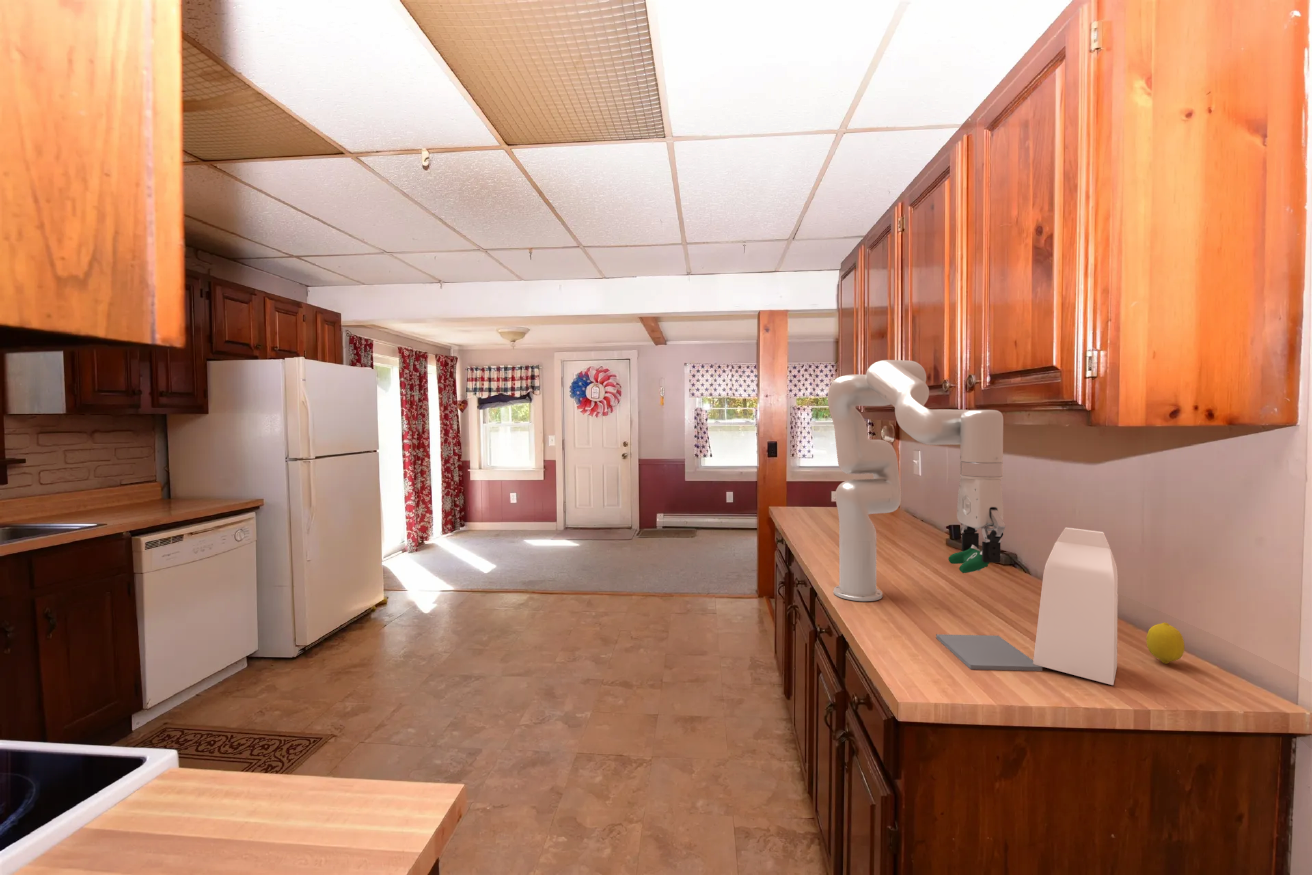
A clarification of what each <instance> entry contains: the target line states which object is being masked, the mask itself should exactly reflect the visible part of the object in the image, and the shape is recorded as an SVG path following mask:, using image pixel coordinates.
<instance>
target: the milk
mask: <svg viewBox="0 0 1312 875" xmlns="http://www.w3.org/2000/svg"><path fill="white" fill-rule="evenodd" d="M1118 575H1119V574H1118V567H1117V562H1116V559H1115V556H1114V554H1113V551H1112V549H1111V545H1110V544H1109V541H1108V539H1107V537H1106V535H1105V532H1104V531H1099V530H1098V531H1097V530H1090V529H1083V528H1081V529H1080V528H1076V527H1075V528H1073V527H1064V529H1063V530H1062V531H1061V533H1060V535H1059V536H1058V538H1057V539H1056V541H1055V542H1054V544H1053V547H1052V549H1051V551H1050V554H1049V556H1048V557H1047V559H1046V562H1045V565H1044V570H1043V576H1042V584H1041V593H1040V601H1039V610H1038V617H1037V625H1036V626H1037V627H1036V633H1035V634H1036V635H1035V644H1034V652H1033V659H1032V660H1033V664H1035V665H1038V666H1042V668H1047V669H1050V670H1053V671H1058V672H1062V673H1066V674H1068V675H1074V676H1076V677H1081V678H1084V679H1087V680H1092V681H1096V682H1099V683H1102V684H1108V685H1111V686H1114V683H1115V679H1116V672H1117V670H1118V669H1117V668H1118V598H1119V597H1118V593H1119V592H1118V589H1119V588H1118V584H1119V583H1118V582H1119V580H1118V578H1119V577H1118Z"/></svg>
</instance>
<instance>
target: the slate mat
mask: <svg viewBox="0 0 1312 875" xmlns="http://www.w3.org/2000/svg"><path fill="white" fill-rule="evenodd" d="M935 638H936V639H937V640H938V641H939V642H940V643H941V644H942V645H943V646H944V647H945V648H946V649H947V650H949V651H950V653H952V654H953V655H954V656H955V657H957V659H958V660H960V661H961V662H962V663H963V664H964V665H965V666H966V667H967V668H968V669H969V670H985V671H986V670H987V671H990V670H991V671H1019V672H1020V671H1021V672H1022V671H1023V672H1024V671H1025V672H1027V671H1028V672H1043V667H1042V666H1038V665H1035V664H1033V659H1032V658H1031V657H1029V656H1028V655H1026V654H1025V653H1024V652H1022V651H1021V650H1020V649H1018V648H1016V647H1015V646H1014V645H1012V644H1011V643H1009V642H1008V641H1007V640H1006V639H1004V638H1003V637H1001V636H1000V635H991V634H990V635H985V634H983V635H981V634H980V635H979V634H942V633H941V634H938V633H937V634H936V635H935Z"/></svg>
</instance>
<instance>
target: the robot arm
mask: <svg viewBox="0 0 1312 875" xmlns="http://www.w3.org/2000/svg"><path fill="white" fill-rule="evenodd" d="M926 381H927V373H926V371H925V368H924V367H923V366H922V365H921V364H920V363H918V362H917V361H914V360H901V359H883V360H882V359H881V360H878V361H875V362H873V363H872V364H871V365H870V366H869V367H868V369H867V370H866V373H865V374H846V375H841V376H838V377H836V378H835V379H834V380H832V382H831V384H830V386H829V388H828V392H827V406H828V410H829V414H830V416H831V419H832V423H833V428H834V429H833V430H834V436H835V437H834V438H835V447H836V457H837V458H836V459H837V464H838V468H839V469H840V471H841V472H842V473H844V474H846V475H872V478H858V479H857V478H855V479H848V480H845V481H843V482H841V483H840V484H839V485H838V486H837V488H836V489H835V496H834V497H835V503H836V509H837V514H838V526H839V528H838V530H839V533H838V535H839V536H838V538H839V541H838V542H839V545H838V546H839V547H838V548H839V552H838V553H839V554H838V555H839V558H838V560H839V571H838V572H839V585H836V586H835V587H833V594H834V595H835V596H836V597H838V598H841V599H844V600H849V601H855V602H874V601H875V602H876V601H878V600H881V599H882V598H883V592H882V590H880V589H879V588H877V530H876V527H875V525H874V523H873V521H872V520H871V518H870V516H869V515H872V514H873V515H875V514H887V513H893V512H895V511H896V510H898V509H899V507H900V505H901V502H902V489H901V480H900V472H899V470H900V469H899V463H898V462H899V461H898V456H897V453H896V450H895V449H894V446H893V445H892V444H891V443H890V442H888V441H887V440H883V439H870V438H869V435H868V426H867V422H866V420H865V418H864V417H863V415H862V414H861V412H860V411H859V410H858V409H857V408H856V407H858V406H859V407H885V406H890V405H891V406H893V407H894V413H895V419H896V422H897V424H898V426H899V427H900V429H901V430H903V431H904V433H906V434H907V435H908V436H910V437H911V439H913V440H915V441H917V442H918V443H921V444H924V445H928V446H929V445H930V446H935V445H937V446H938V445H942V446H943V445H952V446H953V445H955V446H956V445H957V446H958V445H960V447H959V448H960V449H959V450H960V453H959V457H960V458H959V459H960V461H959V462H960V463H959V478H960V479H959V486H958V492H957V494H958V495H957V504H956V505H957V506H956V518H957V521H958V523H960V524H961V528H960V530H961V552H962V551H966V550H968V549H969V548H970V547H972V545H974V546H975V547H977V549H979V550H980V548H979V544H980V543H979V542H980V535H979V534H980V533H979V532H978V530H981V534H982V536H983V539H984V540H983V541H982V542H981V551H982V561H983V562H986V563H989V564H991V563H992V564H994V563H996V564H999V563H1000V562H1001V543H1002V542H1003V536H1004V531H1005V529H1006V523H1005V522H1004V501H1003V487H1002V480H1003V479H1004V477H1003V476H1004V475H1003V474H1004V462H1003V461H1004V460H1003V458H1004V416H1003V413H1002V412H1001V411H999V410H997V409H970V410H969V409H949V408H947V409H944V408H943V409H939V408H937V409H930V408H927V407H926V406H925V404H926V403H927V402H928V399H929V396H930V388H929V386H928V384H927V383H926Z"/></svg>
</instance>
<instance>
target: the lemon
mask: <svg viewBox="0 0 1312 875" xmlns="http://www.w3.org/2000/svg"><path fill="white" fill-rule="evenodd" d="M1145 639H1146V646H1147V649H1148V651H1149V653H1151V655H1152V656H1153V657H1154V658H1156V659H1157V660H1159V661H1160V662H1161V663H1162V664H1164V665H1166V664H1169V663H1172V662H1175V661H1176V662H1177V661H1178V660H1180V659H1181V658H1182V656H1183V655H1184V653H1185V641H1184V640H1185V639H1184V637H1183V635H1182V634H1181V632H1180V631H1179V630H1178V629H1177V628H1176V627H1174V626H1172V625H1170V624H1169V623H1168V622H1165V621H1164V622H1161V623H1157V624H1154V625H1152V626H1151V627H1150V628H1149V629H1148V631H1147V634H1146V638H1145Z"/></svg>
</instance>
